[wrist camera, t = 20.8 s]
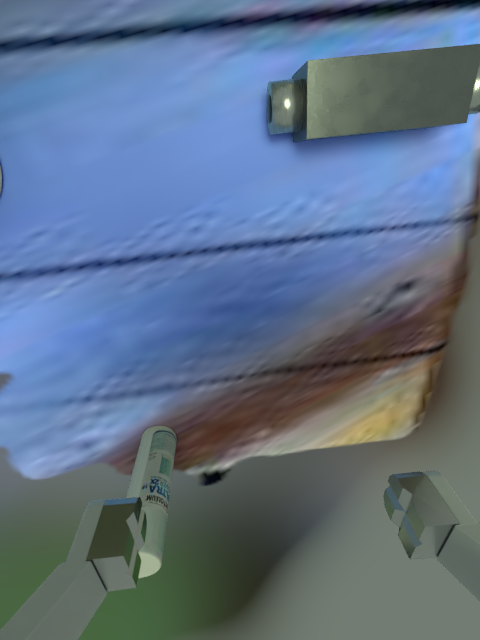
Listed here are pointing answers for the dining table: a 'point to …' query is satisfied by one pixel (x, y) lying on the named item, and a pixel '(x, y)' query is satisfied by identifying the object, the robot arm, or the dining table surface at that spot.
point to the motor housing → (377, 93)
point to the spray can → (153, 491)
